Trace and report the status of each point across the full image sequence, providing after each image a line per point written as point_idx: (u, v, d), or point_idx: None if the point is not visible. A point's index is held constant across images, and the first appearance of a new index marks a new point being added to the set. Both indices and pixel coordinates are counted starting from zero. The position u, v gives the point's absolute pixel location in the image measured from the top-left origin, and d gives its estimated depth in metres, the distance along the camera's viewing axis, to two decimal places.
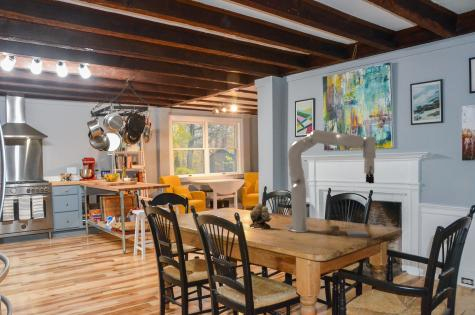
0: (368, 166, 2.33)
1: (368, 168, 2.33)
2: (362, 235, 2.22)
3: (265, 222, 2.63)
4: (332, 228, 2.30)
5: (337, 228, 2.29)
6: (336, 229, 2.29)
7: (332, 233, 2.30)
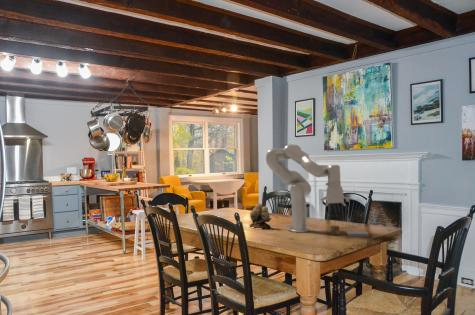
0: None
1: (343, 197, 2.29)
2: (362, 235, 2.22)
3: (265, 222, 2.63)
4: (332, 228, 2.30)
5: (337, 228, 2.29)
6: (336, 229, 2.29)
7: (332, 233, 2.30)
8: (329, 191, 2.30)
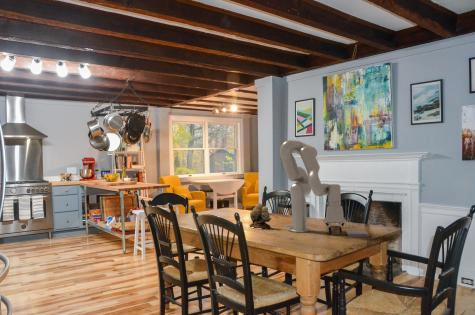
0: None
1: (343, 217, 2.29)
2: (362, 235, 2.22)
3: (265, 222, 2.63)
4: (332, 228, 2.30)
5: (337, 228, 2.29)
6: (336, 229, 2.29)
7: (332, 233, 2.30)
8: (329, 210, 2.30)
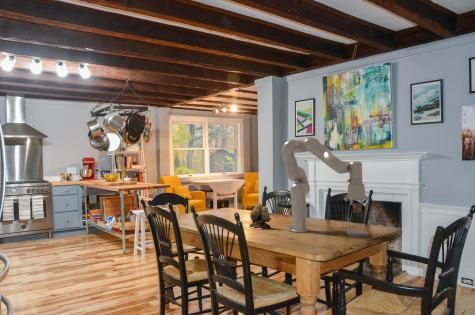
0: None
1: None
2: (362, 235, 2.22)
3: (265, 222, 2.63)
4: (354, 205, 2.27)
5: (359, 205, 2.26)
6: (358, 206, 2.26)
7: (354, 210, 2.26)
8: (351, 188, 2.27)
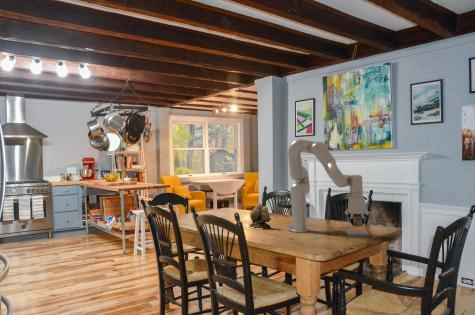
0: (365, 206, 2.26)
1: (365, 208, 2.26)
2: (362, 235, 2.22)
3: (265, 222, 2.63)
4: (354, 219, 2.26)
5: (359, 219, 2.26)
6: (358, 220, 2.26)
7: (354, 224, 2.26)
8: (351, 202, 2.27)
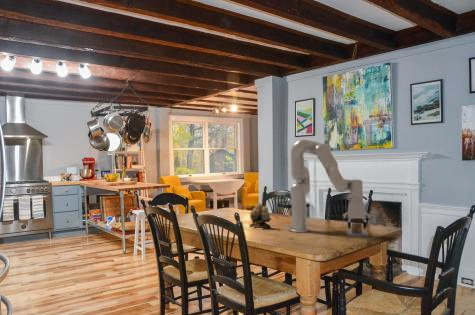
0: None
1: (365, 213, 2.26)
2: (362, 235, 2.22)
3: (265, 222, 2.63)
4: (354, 226, 2.26)
5: (359, 226, 2.26)
6: (358, 226, 2.26)
7: (354, 231, 2.26)
8: (351, 206, 2.27)
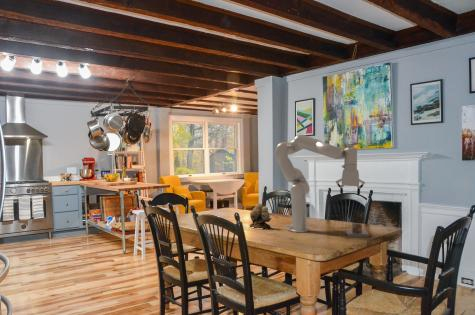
0: None
1: (359, 180, 2.29)
2: (362, 235, 2.22)
3: (265, 222, 2.63)
4: (354, 226, 2.26)
5: (359, 226, 2.26)
6: (358, 226, 2.26)
7: (354, 231, 2.26)
8: (345, 173, 2.29)
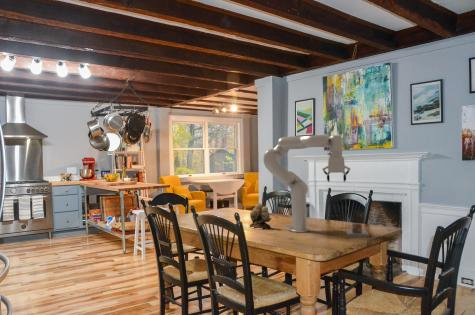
0: (344, 165, 2.35)
1: (344, 167, 2.35)
2: (362, 235, 2.22)
3: (265, 222, 2.63)
4: (354, 226, 2.26)
5: (359, 226, 2.26)
6: (358, 226, 2.26)
7: (354, 231, 2.26)
8: (331, 160, 2.36)
